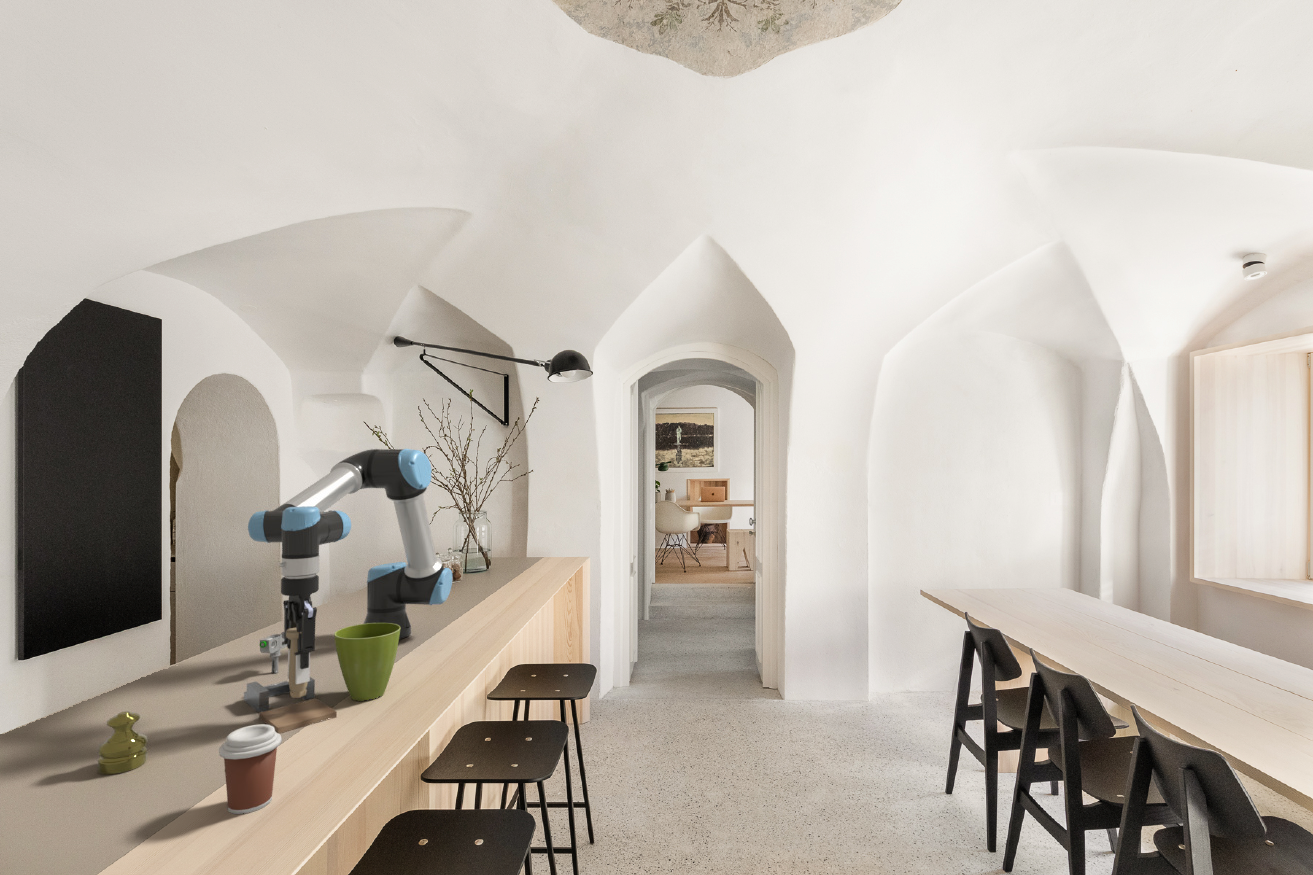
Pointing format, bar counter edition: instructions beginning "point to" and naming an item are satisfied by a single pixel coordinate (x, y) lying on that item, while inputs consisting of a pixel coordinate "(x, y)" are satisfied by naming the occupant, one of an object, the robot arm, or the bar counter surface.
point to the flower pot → (367, 657)
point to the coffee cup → (250, 767)
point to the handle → (294, 666)
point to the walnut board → (297, 715)
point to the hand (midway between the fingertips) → (298, 679)
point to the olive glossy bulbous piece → (122, 746)
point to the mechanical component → (273, 648)
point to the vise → (272, 693)
